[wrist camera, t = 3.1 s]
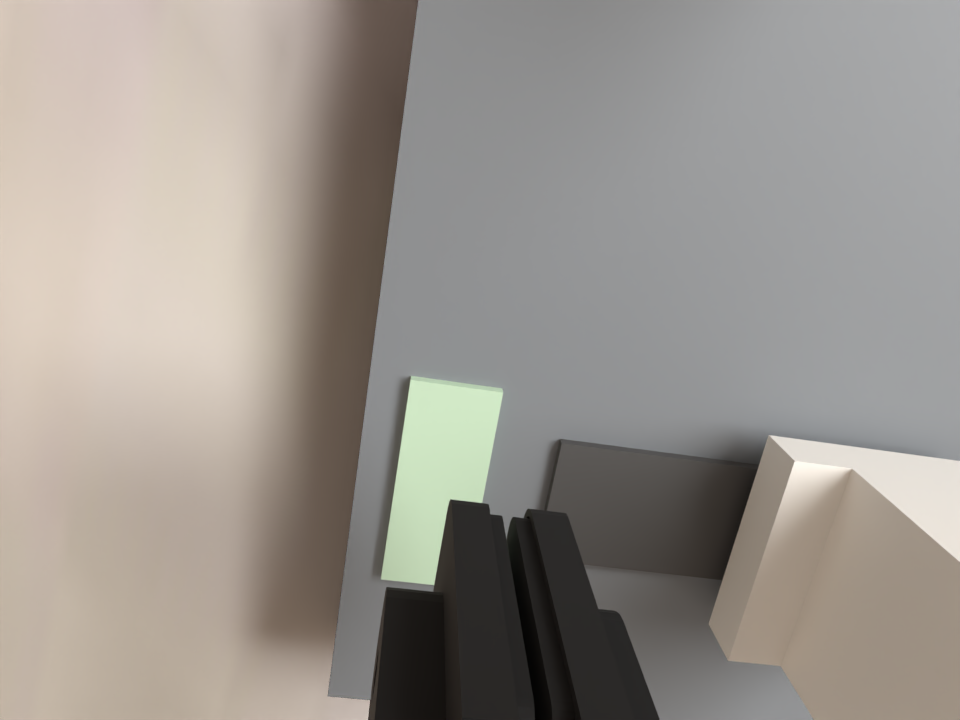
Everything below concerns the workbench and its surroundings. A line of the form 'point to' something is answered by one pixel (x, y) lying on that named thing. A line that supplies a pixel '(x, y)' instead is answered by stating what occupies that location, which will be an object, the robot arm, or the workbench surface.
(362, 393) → the workbench surface
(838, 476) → the breaker handle
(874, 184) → the breaker panel
